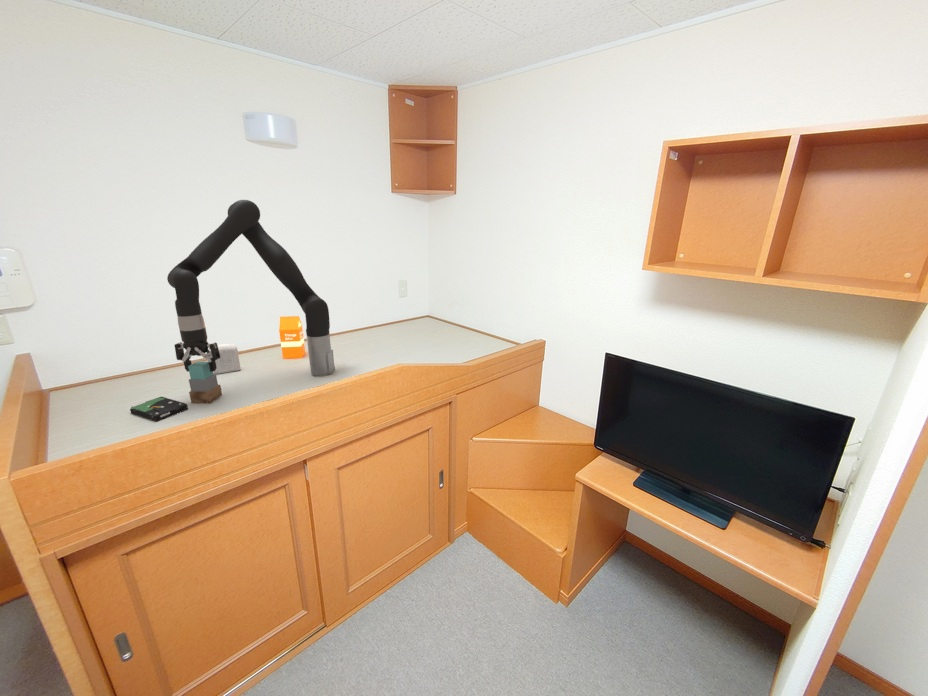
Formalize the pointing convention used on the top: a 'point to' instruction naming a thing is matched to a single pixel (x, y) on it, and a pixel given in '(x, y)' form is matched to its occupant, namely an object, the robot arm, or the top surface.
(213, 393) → the walnut base
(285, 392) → the top surface
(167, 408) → the disk drive
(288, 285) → the robot arm
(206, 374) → the teal block
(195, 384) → the slate block
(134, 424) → the top surface
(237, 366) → the photo printer
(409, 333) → the top surface
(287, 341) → the orange juice
